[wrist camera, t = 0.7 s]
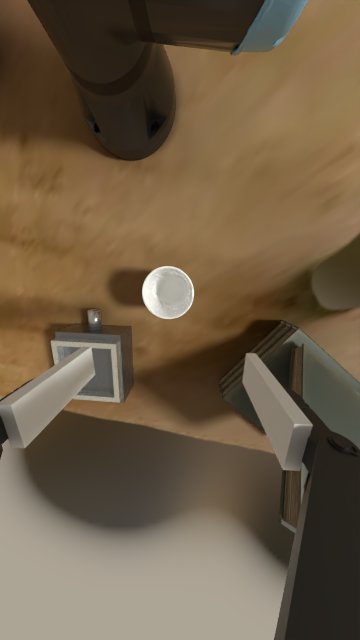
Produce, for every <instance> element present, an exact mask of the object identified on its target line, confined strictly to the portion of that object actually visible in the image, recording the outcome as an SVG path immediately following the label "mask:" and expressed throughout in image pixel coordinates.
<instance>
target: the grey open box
mask: <svg viewBox="0 0 360 640" xmlns="http://www.w3.org/2000/svg"><path fill="white" fill-rule="evenodd" d="M87 313H88V322H89V324H74V325H71V326H68V327H66V328H63V329H61V330H58V331H55V337H56V339H53V340H51V346H52V352H53V358H54V364H55V365H56V364H57V363H59V362H60V361H62V360H63V359H65V358H66V357H68V356H69V355H71V354H72V353H74V352H75V351H77V350H78V349H80V348H81V347H91V348H92V355H93V362H94V369H95V375H94V377H93V378H92V379H91V380H90V381H89V382H88V383H87V384H86V385H85V386H84V387H83V388H82V389H81V390H80V391H79V392H78V393H77V394H76V395H75V396H74V397H73V398H72V399H81V400H94V401H107V402H125V400H126V398H127V396H128V394H129V393H130V391H131V389H132V387H133V385H134V380H133V356H132V332H131V326H112V325H102V321H101V310H100V309H90V310H87Z"/></svg>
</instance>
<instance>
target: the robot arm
mask: <svg viewBox="0 0 360 640" xmlns="http://www.w3.org/2000/svg"><path fill="white" fill-rule="evenodd" d="M27 1H28V2H29V4H30V6H31V7H32V9H33V11H34V12H35V14H36V16H37V17H38V19H39V21H40V22H41V24H42V26H43V27H44V29H45V31H46V32H47V34H48V36H49V37H50V39H51V41H52V42H53V44H54V46H55V47H56V49H57V51H58V53H59V54H60V56H61V57H62V59H63V61H64V62H65V64H66V66H67V68H68V69H69V71H70V74H71V77H72V80H73V83H74V86H75V89H76V92H77V96H78V99H79V102H80V105H81V108H82V111H83V114H84V116H85V119H86V121H87V123H88V125H89V127H90V128H91V130H92V132H93V133H94V135H95V136H96V138H97V139H98V141H99V142H100V143H101V144H102V146H103V147H104V148H105V149H106V150H108V151H109V152H110V153H111V154H113V155H115V156H117V157H119V158H122V159H126V160H138V159H142V158H145V157H147V156H149V155H151V154H152V153H154V152H155V151H156V150H157V149H158V148H159V147H160V146H161V145H162V144H163V143H164V141H165V140H166V138H167V136H168V134H169V132H170V130H171V127H172V124H173V120H174V116H175V106H176V99H175V87H174V78H173V73H172V68H171V65H170V61H169V59H168V56H167V53H166V51H165V48H164V45H163V44H166V45H174V46H183V47H191V48H200V49H208V50H217V51H225V52H230V53H231V55H238V54H239V53H240V52H268V51H270V50H272V49H274V48H275V47H277V46H278V45H279V44H280V43H281V41H282V40H283V39H284V38H285V37H286V36H287V34H288V33H289V31H290V30H291V28H292V27H293V26H294V24H295V23H296V21H297V20H298V18H299V16H300V14H301V13H302V11H303V9H304V7H305V5H306V4H307V2H308V0H27ZM94 375H95V369H94V362H93V355H92V348H91V347H81V348H80V349H78V350H77V351H75V352H74V353H72V354H71V355H69V356H68V357H66V358H65V359H63V360H62V361H60V362H59V363H57V364H56V365H54V366H53V367H51V368H50V369H48V370H47V371H45V372H44V373H42V374H41V375H39V376H38V377H36V378H34V379H32V380H30V381H28V382H26V383H25V384H23V385H22V386H21V387H19V388H17V389H16V390H14V392H11V393H10V394H8V395H7V396H5V397H4V398H2V399H1V400H0V458H1V454H2V451H3V449H2V445H1V444H2V443H4V442H5V441H6V440H7V439H9V442H10V445H11V447H15V448H26V446H27V445H28V444H29V443H30V442H31V441H32V440H33V439H34V438H35V437H36V436H37V435H38V434H39V433H40V432H41V431H42V430H43V429H44V428H45V427H46V425H47V424H48V423H49V422H50V421H51V420H52V419H53V418H54V417H55V416H56V415H57V414H58V413H59V412H60V411H61V410H62V409H63V408H64V407H65V406H66V405H67V404H68V403H69V402H70V401H71V399H72V398H73V397H74V396H75V395H76V394H77V393H78V392H79V391H80V390H81V389H82V388H83V387H84V386H85V385H86V384H87V383H88V382H89V381H90V380H91V379H92V378H93V377H94ZM242 383H243V385H244V387H245V389H246V391H247V393H248V396H249V398H250V400H251V402H252V404H253V406H254V408H255V411H256V413H257V415H258V417H259V419H260V421H261V424H262V426H263V428H264V430H265V432H266V434H267V437H268V439H269V441H270V443H271V445H272V447H273V449H274V452H275V454H276V456H277V458H278V460H279V462H280V464H281V467H282V469H283V470H291V471H300V468H301V465H302V462H303V463H304V465H305V467H306V469H307V470H308V474H307V477H306V481H305V484H304V487H303V488H304V493H303V498H302V503H301V508H300V513H299V518H298V523H297V528H296V533H295V538H294V543H293V548H292V553H291V558H290V563H289V568H288V573H287V578H286V583H285V588H284V593H283V598H282V603H281V608H280V613H279V618H278V623H277V628H276V633H275V638H274V640H360V450H359V448H358V447H357V446H356V445H355V444H354V443H353V442H351V441H350V440H349V439H348V438H346V437H344V436H342V435H341V434H338V433H336V432H333V431H331V430H330V429H329V428H328V427H327V426H326V424H325V423H324V422H323V421H322V420H321V419H320V418H319V417H318V415H317V414H316V413H315V412H314V411H313V410H312V409H311V408H310V406H309V405H308V404H307V403H306V402H305V401H304V400H303V398H302V397H301V396H300V395H299V394H297V393H296V392H294V391H293V390H291V389H284V388H283V387H282V386H281V385H280V383H279V382H278V381H277V379H276V378H275V377H274V376H273V374H272V373H271V372H270V371H269V369H268V368H267V367H266V366H265V364H264V363H263V362H262V361H261V359H260V358H259V357H258V356H257V354H256V353H246V357H245V365H244V373H243V380H242Z"/></svg>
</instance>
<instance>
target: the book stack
mask: <svg viewBox="0 0 360 640" xmlns="http://www.w3.org/2000/svg"><path fill="white" fill-rule="evenodd" d="M249 353H256V354H257V356H258V357H259V358H260V359H261V361H262V362H263V363H264V364H265V366H266V367H267V368H268V369H269V371H270V372H271V373H272V374H273V376H274V377H275V378H276V379H277V381H278V382H279V383H280V385H281V386H282V387H283V388H284V389H291V390H293V391H294V392H296V393H297V394H299V395H300V396H301V397H302V398H303V400H304V401H305V402H306V403H307V404H308V405H309V406H310V408H311V409H312V410H313V411H314V412H315V413H316V414H317V415H318V417H319V418H320V419H321V420H322V421H323V422H324V423H325V424H326V426H327V427H328V428H329V429H330V430H331V431H333V432H336V433H338V434H341V435H342V436H344V437H346V438H348V439H349V440H350V441H351V442H353V443H354V444H355V445H356V446H357V447H358V448H359V450H360V382H358V381H357V380H356V379H355V378H354V377H353V376H352V375H351V374H350V373H348V372H347V371H346V370H345V369H344V368H343V367H342V366H341V365H340V364H339V363H337V362H336V361H335V360H334V359H333V358H332V357H331V356H330V355H329V354H327V353H326V352H325V351H324V350H323V349H322V348H321V347H320V346H319V345H317V344H316V343H315V342H314V341H313V340H312V339H311V338H310V337H309V336H308V335H306V334H305V333H304V332H303V331H302V330H301V329H300V328H299V327H296V326H294V325H292V324H290V323H287V322H285V321H283V320H281V323H280V324H279V325H278V326H277V327H276V328H275V329H274V330H273V331H271V332H270V333H269V334H268V335H267V336H266V337H265V338H264V339H263V340H262V341H261V342H260V343H259V344H258V345H257V346H256V347H255V348H254V349H252V350H251V351H250V352H249ZM245 357H246V356H245ZM245 357H244V358H243V359H242V360H241V361H240V362H239V363H238V364H237V365H236V366H235V367H233V368H232V369H231V370H230V371H229V372H228V373H227V374H226V375H225V376H224V377H223V378H222V379H221V380H220V384H219V386H220V387H221V388H222V390H220V391H221V393H223V397H222V398H223V399H224V400H226V401H227V402H228V403H229V404H231V405H232V406H233V407H234V408H236V409H237V410H238V411H239V412H241V413H242V414H243V415H245V416H246V417H247V418H248V419H250V420H251V421H252V422H253V423H255V424H256V425H257V426H259V427H260V428H261V429H262V430H264V428H263V426H262V424H261V421H260V419H259V417H258V415H257V413H256V411H255V408H254V406H253V404H252V402H251V400H250V398H249V396H248V393H247V391H246V389H245V387H244V385H243V383H242V380H243V373H244V365H245ZM264 431H265V430H264ZM307 474H308V470H307V469H306V467H305V465H304V463H303V462H302V465H301V468H300V471H291V470H283V472H282V485H281V498H280V512H279V522H280V523H281V524H283V525H285V527H287V528H288V529H290V530H291V531H292V532H294V533H296V528H297V523H298V518H299V513H300V508H301V503H302V498H303V493H304V488H303V487H304V484H305V481H306V477H307Z"/></svg>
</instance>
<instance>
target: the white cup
mask: <svg viewBox="0 0 360 640" xmlns="http://www.w3.org/2000/svg"><path fill="white" fill-rule="evenodd" d="M142 297H143V301H144V303H145V305H146V307H147V308H148V309H149V311H150V312H152V313H153V314H154V315H156V316H158V317H160V318H164V319H173V318H177V317H179V316H181V315H183V314H184V313H185V312H186V311H187V310H188V309H189V308H190V306H191V304H192V302H193V298H194V289H193V285H192V282H191V280H190V278H189V277H188V276H187V275H186V274H185V273H184V272H183V271H182V270H180V269H178V268H175V267H171V266H164V267H160V268H157V269H155V270H153V271H152V272H151V273H150V274H149V275H148V276H147V277H146V279H145V281H144V283H143V287H142Z"/></svg>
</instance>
